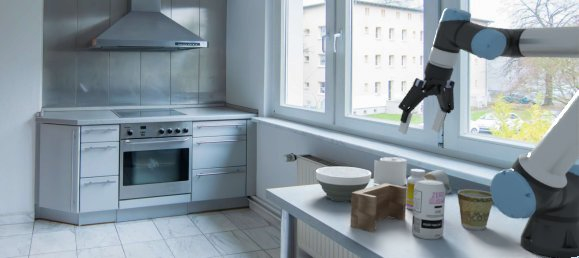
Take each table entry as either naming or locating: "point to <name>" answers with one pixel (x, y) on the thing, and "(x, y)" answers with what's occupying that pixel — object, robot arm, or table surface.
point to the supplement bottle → (411, 181)
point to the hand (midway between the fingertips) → (419, 131)
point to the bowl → (342, 181)
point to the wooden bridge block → (377, 205)
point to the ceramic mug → (439, 178)
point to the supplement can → (428, 209)
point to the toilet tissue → (390, 171)
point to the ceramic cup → (474, 208)
